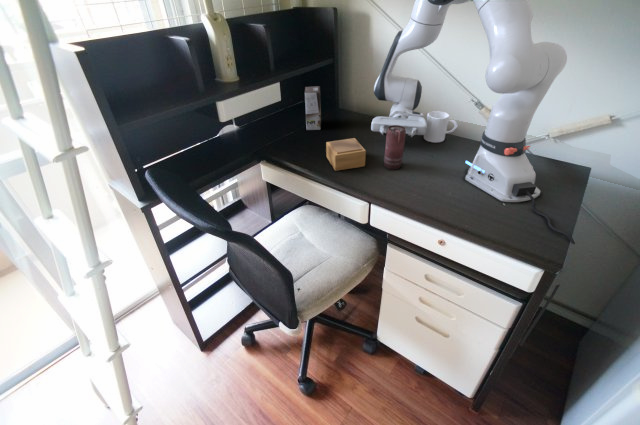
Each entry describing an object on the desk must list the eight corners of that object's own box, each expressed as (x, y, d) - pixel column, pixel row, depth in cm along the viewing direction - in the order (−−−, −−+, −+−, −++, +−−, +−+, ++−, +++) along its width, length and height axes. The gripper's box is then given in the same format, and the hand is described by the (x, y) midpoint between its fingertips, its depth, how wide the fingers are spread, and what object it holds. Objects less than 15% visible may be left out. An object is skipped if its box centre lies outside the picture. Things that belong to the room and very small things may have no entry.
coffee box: (321, 130, 142) (319, 92, 132) (306, 130, 142) (304, 92, 132) (321, 122, 149) (320, 85, 139) (307, 122, 149) (305, 86, 139)
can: (388, 171, 112) (392, 133, 103) (380, 163, 117) (384, 125, 108) (404, 168, 113) (410, 130, 104) (396, 160, 118) (401, 123, 109)
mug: (450, 146, 125) (455, 122, 119) (420, 139, 131) (424, 115, 125) (456, 139, 130) (462, 115, 124) (428, 132, 136) (432, 109, 130)
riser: (364, 166, 115) (365, 149, 111) (335, 171, 113) (335, 154, 109) (354, 152, 124) (354, 136, 120) (326, 156, 122) (326, 141, 118)
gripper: (373, 110, 128) (368, 123, 117) (427, 113, 123) (427, 128, 113) (372, 125, 132) (367, 140, 121) (425, 129, 127) (424, 144, 117)
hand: (397, 134), depth 117 cm, fingers open, 8 cm apart
